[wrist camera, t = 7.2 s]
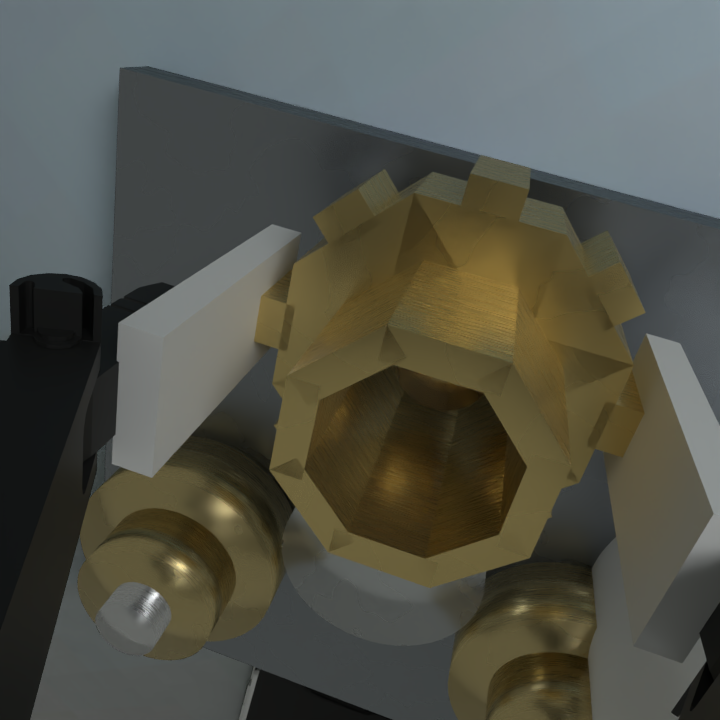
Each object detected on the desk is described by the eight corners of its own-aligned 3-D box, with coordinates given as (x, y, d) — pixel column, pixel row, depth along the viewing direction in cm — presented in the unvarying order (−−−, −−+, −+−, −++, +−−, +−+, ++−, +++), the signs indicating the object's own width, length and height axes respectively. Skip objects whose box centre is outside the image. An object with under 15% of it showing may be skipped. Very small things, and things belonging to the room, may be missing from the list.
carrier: (147, 66, 20) (-32, 75, 14) (923, 273, 17) (1139, 401, 11) (119, 583, 30) (10, 721, 24) (599, 763, 27) (615, 971, 21)
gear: (324, 113, 15) (203, 146, 9) (699, 213, 14) (801, 313, 8) (269, 418, 18) (160, 566, 13) (559, 513, 17) (569, 715, 12)
